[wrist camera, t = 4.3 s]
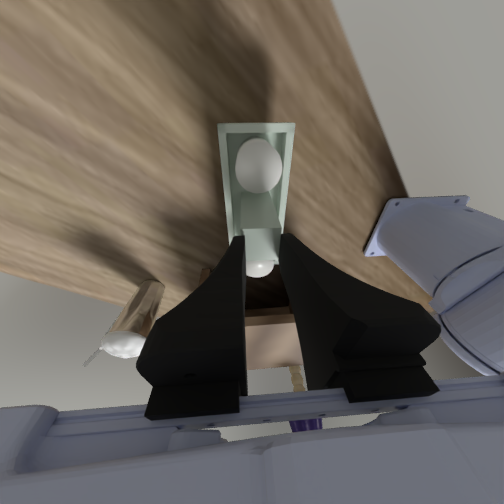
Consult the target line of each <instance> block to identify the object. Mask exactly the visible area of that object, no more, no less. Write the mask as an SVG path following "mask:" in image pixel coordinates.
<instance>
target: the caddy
mask: <svg viewBox="0 0 504 504" xmlns="http://www.w3.org/2000/svg"><path fill="white" fill-rule="evenodd" d="M217 128H218V138H219V148H220V158H221V167H222V177H223V187H224V197H225V207H226V216H227V226H228V236H229V246H230V243H231V241H232V238H233V237H234V236H240V235H245V250H246V275H248V276H250V277H263V276H266V275H267V274H269V273H270V272H271V271H272V269H273V267H274V264H279V262H278V257H279V248H280V238H281V234H283V228H284V219H285V210H286V201H287V192H288V184H289V175H290V166H291V157H292V148H293V140H294V131H295V123H291V122H268V123H218V124H217Z"/></svg>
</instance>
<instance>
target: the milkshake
mask: <svg viewBox="0 0 504 504" xmlns="http://www.w3.org/2000/svg"><path fill="white" fill-rule="evenodd" d="M164 290H165V287H164V286H163V285H162V284H161V283H160V282H157V281H155V280H145V281H144V282H143V283H141V284H140V286H139V287H138V288H137V290H136V291H135V293H134V294H133V296H132V297H131V299H130V300H129V302H128V303H127V304H126V306H125V307H124V309H123V311H122V312H121V313H120V315H119V316H118V317H117V319H116V320H115V322H114V323H113V324H112V326H111V327H110V328H109V330H108V331H107V333H106V334H105V335H104V336H103V338H102V339H101V344H102V346H101V347H100V348H99V349H98V350H97V351H96V352H95V353H94V354H93V355H92V356H91V357H90V358H89V359H88V360H87V361H86V362H85V363H84V364H83V366H86V365H87V364H88V363H89V362H90V361H91V360H92V359H93V358H94V357H95V356H96V355H97V354H98V353H99V352H100V351H101V350H102V349H104V350H105V351H106V352H108V353H109V354H111V355H113V356H117V357H121V358H131V357H136V356H139V355H140V352H141V350H142V348H143V345H144V343H145V340H146V338H147V336H148V334H149V332H150V330H151V329H152V327H153V325H154V323H155V321H156V318H157V314H158V311H159V308H160V305H161V301H162V298H163V295H164Z"/></svg>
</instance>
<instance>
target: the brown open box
mask: <svg viewBox="0 0 504 504" xmlns="http://www.w3.org/2000/svg"><path fill="white" fill-rule="evenodd" d="M210 274H211V271H210V268H209V269H202V273H201V278H200V283H199V286H200V285H201V284H202V283H203V282H204V281H205V280H206V279H207V278H208V276H209V275H210ZM245 336H246V361H247V370H253V369H265V368H276V367H287V366H299V365H304V364H303V359H302V353H301V348H300V343H299V338H298V333H297V328H296V323H295V319H294V314H293V310H292V306H291V303H290V301H289V307H277V308H263V309H249V310H245Z"/></svg>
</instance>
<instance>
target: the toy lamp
mask: <svg viewBox="0 0 504 504" xmlns="http://www.w3.org/2000/svg"><path fill="white" fill-rule="evenodd" d="M289 370H290V373H291V375H292V377H291V380H292V384H293V385H294V392H300V391H305V388H304V386H303V378H302V376H301V374H300V373H301V369H300V366H289ZM289 423H290V426H291V429H292V432H302V431H310V430H319V429H322V418H316V419H305V420H294V421H289Z"/></svg>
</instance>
